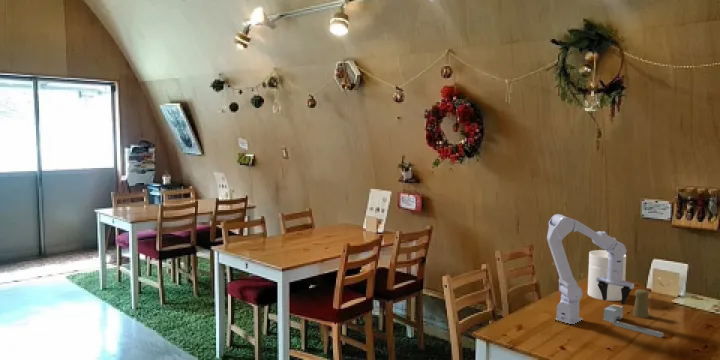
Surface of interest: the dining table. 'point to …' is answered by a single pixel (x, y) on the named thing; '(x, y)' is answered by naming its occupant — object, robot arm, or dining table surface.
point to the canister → (600, 269)
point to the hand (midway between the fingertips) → (614, 302)
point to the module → (613, 313)
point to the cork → (641, 304)
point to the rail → (638, 329)
